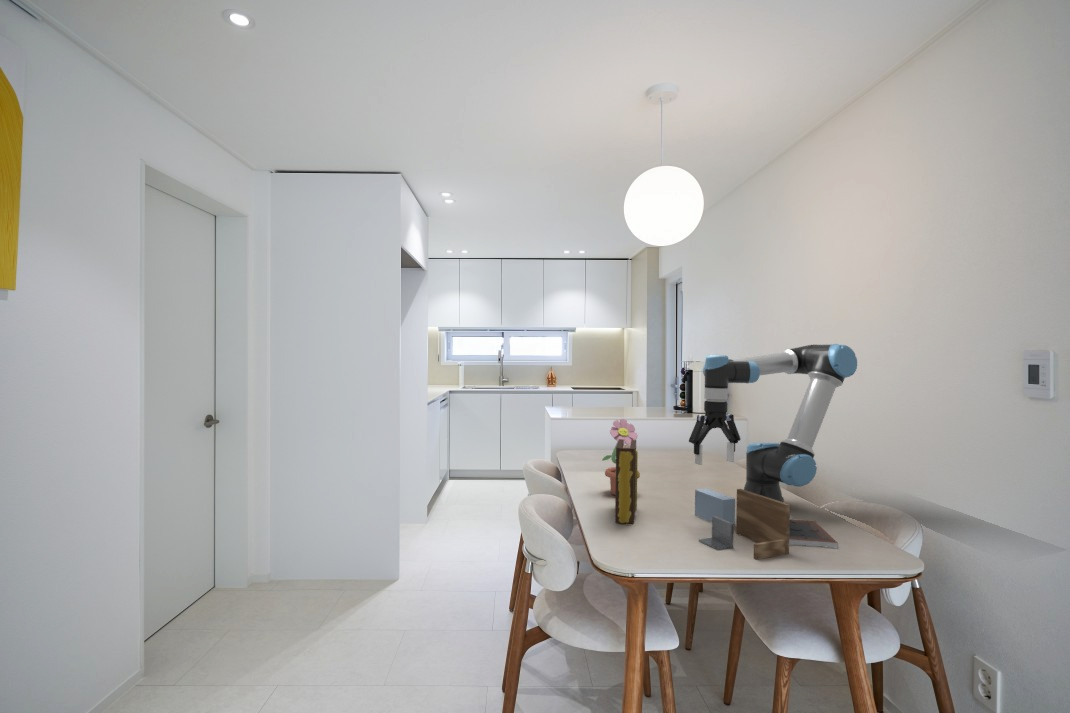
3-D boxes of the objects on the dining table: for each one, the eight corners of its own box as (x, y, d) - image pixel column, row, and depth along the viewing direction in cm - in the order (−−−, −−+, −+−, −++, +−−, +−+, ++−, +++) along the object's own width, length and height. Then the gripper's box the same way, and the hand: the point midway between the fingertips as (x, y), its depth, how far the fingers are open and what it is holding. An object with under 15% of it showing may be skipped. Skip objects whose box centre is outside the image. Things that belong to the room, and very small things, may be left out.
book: (637, 525, 179) (638, 449, 179) (611, 523, 181) (612, 448, 181) (638, 506, 201) (639, 438, 201) (615, 505, 203) (616, 437, 203)
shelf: (739, 532, 173) (740, 488, 173) (788, 553, 156) (789, 504, 156) (709, 537, 168) (709, 492, 168) (756, 559, 151) (757, 508, 151)
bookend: (714, 538, 167) (714, 515, 167) (733, 547, 160) (733, 523, 160) (698, 541, 165) (699, 518, 165) (717, 550, 158) (717, 526, 158)
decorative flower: (609, 500, 210) (610, 421, 210) (597, 491, 223) (598, 417, 223) (645, 498, 213) (646, 421, 213) (631, 489, 227) (632, 417, 226)
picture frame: (762, 524, 185) (778, 546, 164) (762, 516, 185) (778, 537, 164) (815, 527, 182) (837, 550, 161) (815, 520, 182) (838, 542, 161)
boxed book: (705, 513, 194) (706, 488, 194) (734, 525, 181) (735, 498, 181) (694, 515, 192) (694, 489, 192) (722, 527, 179) (723, 500, 179)
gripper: (736, 398, 194) (734, 458, 194) (678, 400, 184) (677, 462, 185) (752, 400, 187) (750, 462, 187) (693, 402, 177) (692, 467, 178)
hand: (714, 462), depth 186 cm, fingers open, 13 cm apart
